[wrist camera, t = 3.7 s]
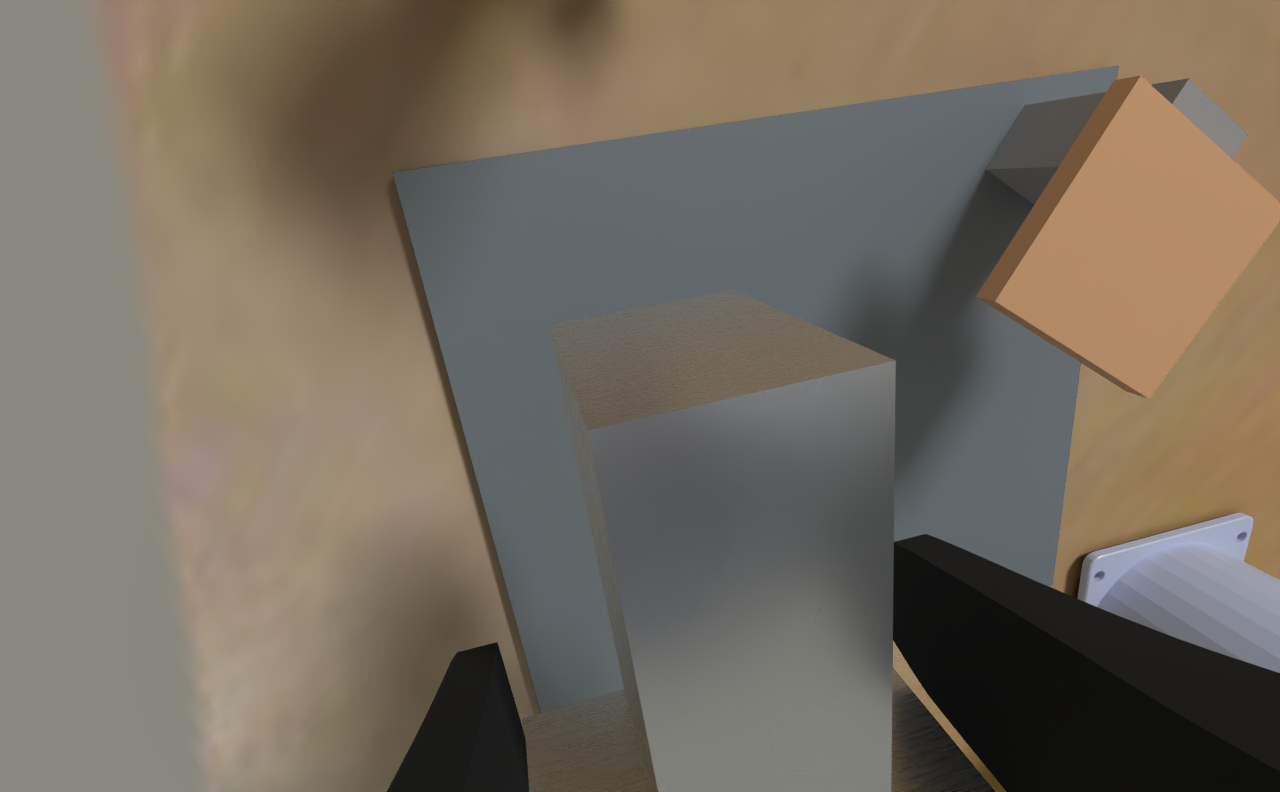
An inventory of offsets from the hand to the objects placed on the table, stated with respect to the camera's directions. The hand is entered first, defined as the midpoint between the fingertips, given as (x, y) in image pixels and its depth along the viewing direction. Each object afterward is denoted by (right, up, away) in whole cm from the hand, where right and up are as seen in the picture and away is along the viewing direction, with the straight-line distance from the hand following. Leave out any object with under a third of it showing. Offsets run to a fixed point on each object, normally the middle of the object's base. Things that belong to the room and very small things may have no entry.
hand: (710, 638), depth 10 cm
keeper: (+10, +9, +9) cm, 16 cm away
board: (+4, +3, +10) cm, 12 cm away
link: (0, -1, +2) cm, 2 cm away
